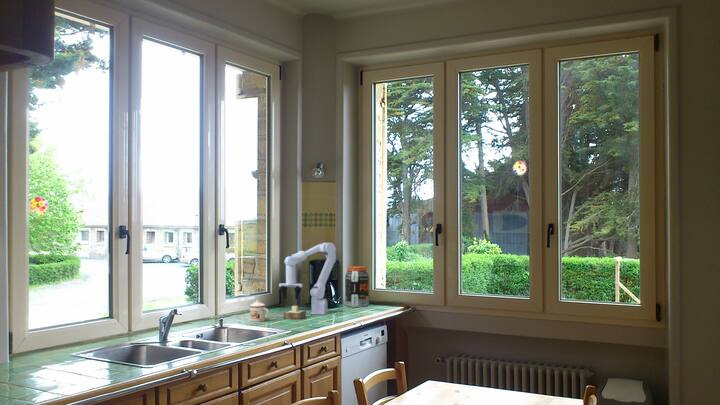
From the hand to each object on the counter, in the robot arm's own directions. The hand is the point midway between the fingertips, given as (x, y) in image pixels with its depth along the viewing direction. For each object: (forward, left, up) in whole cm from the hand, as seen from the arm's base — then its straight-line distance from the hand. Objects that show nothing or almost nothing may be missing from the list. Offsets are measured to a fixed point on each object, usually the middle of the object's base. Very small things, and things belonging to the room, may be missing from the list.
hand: (290, 299), depth 393 cm
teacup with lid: (+11, +21, -10) cm, 26 cm away
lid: (-6, +8, -7) cm, 12 cm away
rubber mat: (+7, +2, -10) cm, 12 cm away
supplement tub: (-28, -49, -10) cm, 57 cm away
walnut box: (-6, +8, -10) cm, 14 cm away
